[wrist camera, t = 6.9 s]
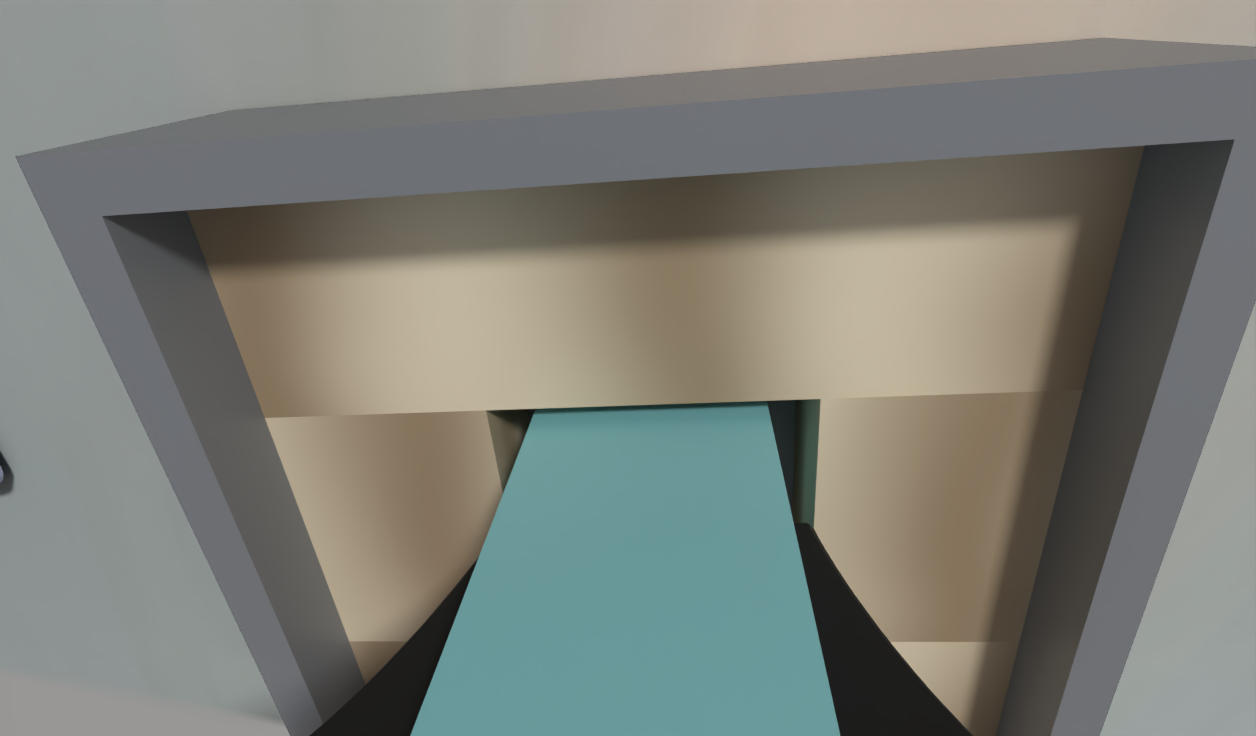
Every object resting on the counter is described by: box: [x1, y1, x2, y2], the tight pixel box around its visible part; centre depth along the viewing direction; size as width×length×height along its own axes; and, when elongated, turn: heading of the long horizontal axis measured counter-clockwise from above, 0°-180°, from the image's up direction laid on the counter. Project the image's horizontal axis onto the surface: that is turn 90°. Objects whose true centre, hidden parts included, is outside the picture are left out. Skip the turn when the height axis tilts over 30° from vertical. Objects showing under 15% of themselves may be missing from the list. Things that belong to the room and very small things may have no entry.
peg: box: [410, 401, 840, 736], centre depth 10 cm, size 4×4×8 cm
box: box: [15, 38, 1256, 736], centre depth 13 cm, size 15×15×4 cm
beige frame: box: [186, 145, 1145, 736], centre depth 14 cm, size 13×13×2 cm
